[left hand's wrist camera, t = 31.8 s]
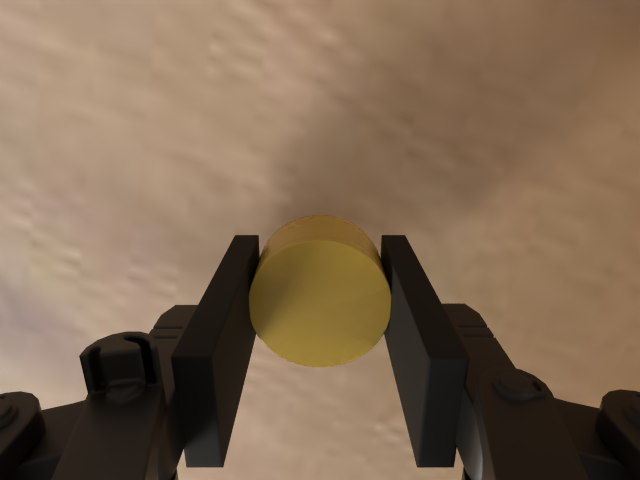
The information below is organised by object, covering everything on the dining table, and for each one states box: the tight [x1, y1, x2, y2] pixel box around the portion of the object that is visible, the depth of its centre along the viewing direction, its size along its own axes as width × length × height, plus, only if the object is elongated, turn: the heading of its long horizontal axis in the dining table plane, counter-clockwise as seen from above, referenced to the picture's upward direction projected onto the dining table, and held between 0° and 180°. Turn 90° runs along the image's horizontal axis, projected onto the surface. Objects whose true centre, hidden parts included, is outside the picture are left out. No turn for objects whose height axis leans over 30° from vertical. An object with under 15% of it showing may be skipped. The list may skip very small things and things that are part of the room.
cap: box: [249, 215, 391, 367], centre depth 13 cm, size 4×4×2 cm
